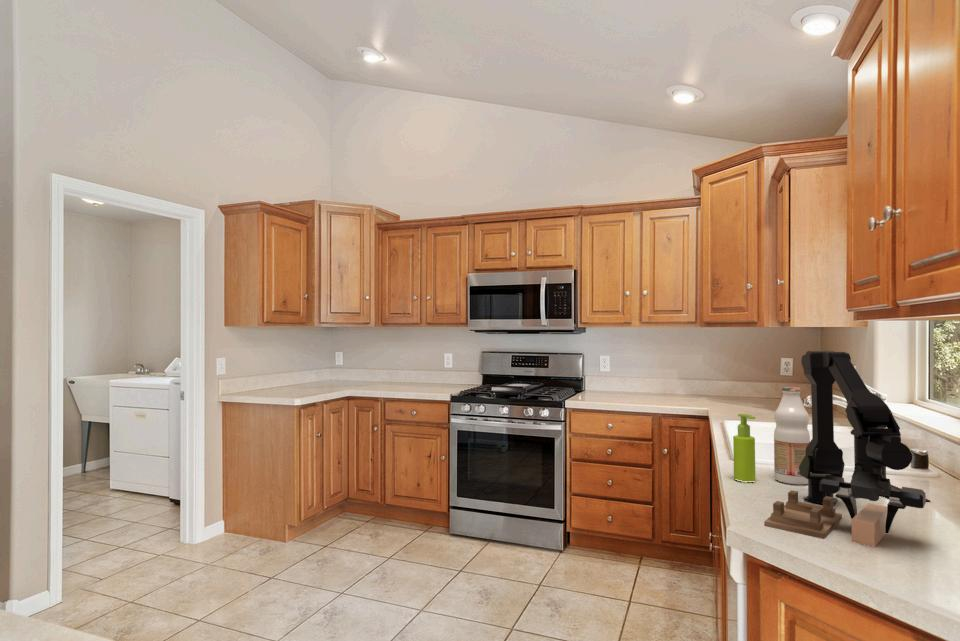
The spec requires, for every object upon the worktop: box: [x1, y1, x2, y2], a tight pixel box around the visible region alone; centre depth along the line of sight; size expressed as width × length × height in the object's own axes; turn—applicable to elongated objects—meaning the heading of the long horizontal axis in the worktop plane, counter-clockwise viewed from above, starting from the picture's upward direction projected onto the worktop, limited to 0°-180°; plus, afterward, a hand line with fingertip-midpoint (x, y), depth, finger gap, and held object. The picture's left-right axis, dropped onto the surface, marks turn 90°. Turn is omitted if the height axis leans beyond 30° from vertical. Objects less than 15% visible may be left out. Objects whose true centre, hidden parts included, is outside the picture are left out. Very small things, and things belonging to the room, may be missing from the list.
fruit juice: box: [773, 386, 811, 485], centre depth 166 cm, size 9×9×28 cm
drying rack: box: [763, 490, 843, 539], centre depth 130 cm, size 18×12×5 cm, turn 136°
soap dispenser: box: [732, 413, 756, 482], centre depth 166 cm, size 6×7×20 cm
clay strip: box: [850, 502, 887, 548], centre depth 122 cm, size 16×4×5 cm, turn 134°
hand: (871, 529), depth 122 cm, fingers open, 5 cm apart
